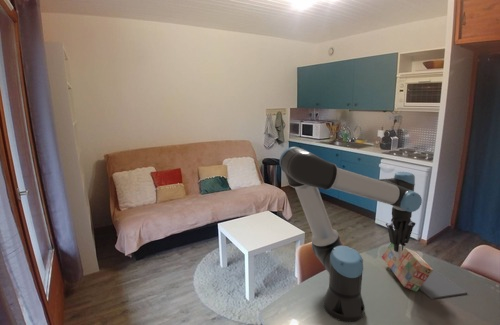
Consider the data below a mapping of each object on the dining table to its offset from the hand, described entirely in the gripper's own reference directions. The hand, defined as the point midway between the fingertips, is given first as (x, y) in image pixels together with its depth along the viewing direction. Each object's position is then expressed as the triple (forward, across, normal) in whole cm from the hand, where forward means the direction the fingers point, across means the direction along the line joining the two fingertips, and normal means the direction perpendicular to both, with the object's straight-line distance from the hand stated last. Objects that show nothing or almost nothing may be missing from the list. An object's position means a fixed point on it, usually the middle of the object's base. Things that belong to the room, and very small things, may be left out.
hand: (397, 257), depth 122 cm
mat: (+11, +13, -2) cm, 17 cm away
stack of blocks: (+9, +1, +1) cm, 9 cm away
